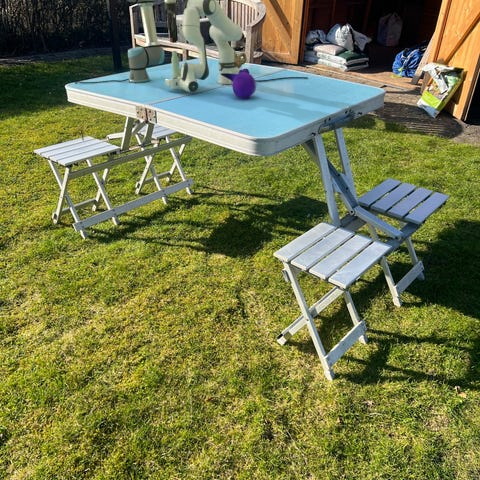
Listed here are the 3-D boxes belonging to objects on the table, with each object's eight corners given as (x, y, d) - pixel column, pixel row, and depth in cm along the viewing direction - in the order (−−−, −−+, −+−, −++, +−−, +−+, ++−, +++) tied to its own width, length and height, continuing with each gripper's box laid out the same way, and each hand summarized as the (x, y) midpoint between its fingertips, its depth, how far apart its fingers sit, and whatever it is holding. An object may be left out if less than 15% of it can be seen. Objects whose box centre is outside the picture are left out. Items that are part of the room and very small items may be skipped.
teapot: (227, 72, 362) (226, 52, 355) (220, 70, 371) (219, 51, 363) (249, 69, 371) (249, 50, 364) (242, 67, 380) (242, 48, 372)
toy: (241, 90, 304) (255, 103, 283) (217, 85, 296) (230, 99, 276) (247, 66, 296) (262, 78, 275) (223, 61, 288) (236, 73, 268)
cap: (170, 41, 301) (169, 38, 300) (176, 41, 301) (176, 37, 300) (169, 42, 297) (169, 38, 296) (176, 42, 297) (176, 38, 296)
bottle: (181, 89, 312) (178, 51, 300) (174, 89, 312) (170, 51, 299) (181, 87, 316) (178, 50, 304) (174, 88, 316) (170, 50, 304)
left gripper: (160, 2, 292) (164, 41, 305) (168, 3, 279) (172, 44, 291) (171, 1, 295) (174, 40, 307) (180, 3, 282) (183, 43, 294)
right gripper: (197, 75, 304) (189, 72, 314) (169, 79, 295) (162, 76, 306) (198, 85, 307) (190, 82, 317) (170, 89, 298) (163, 85, 309)
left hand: (173, 42), depth 299 cm, fingers closed on cap, 4 cm apart
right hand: (176, 79), depth 311 cm, fingers closed on bottle, 5 cm apart
